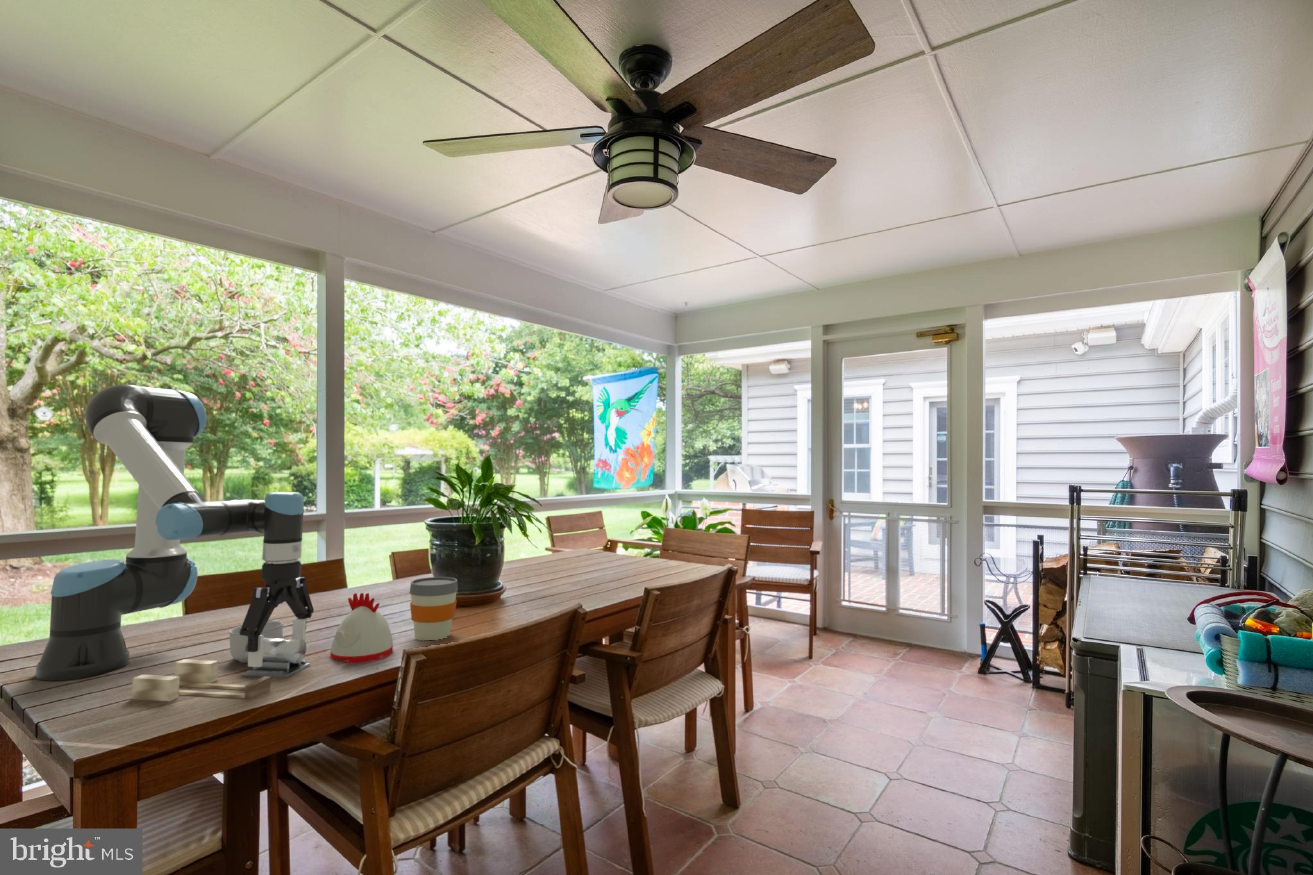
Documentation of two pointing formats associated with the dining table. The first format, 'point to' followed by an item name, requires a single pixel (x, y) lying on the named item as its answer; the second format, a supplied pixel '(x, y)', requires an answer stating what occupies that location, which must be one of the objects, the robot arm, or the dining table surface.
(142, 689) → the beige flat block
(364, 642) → the kitchen timer
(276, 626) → the teacup
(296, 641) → the axle
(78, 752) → the dining table surface
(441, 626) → the reusable coffee cup
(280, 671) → the v block
